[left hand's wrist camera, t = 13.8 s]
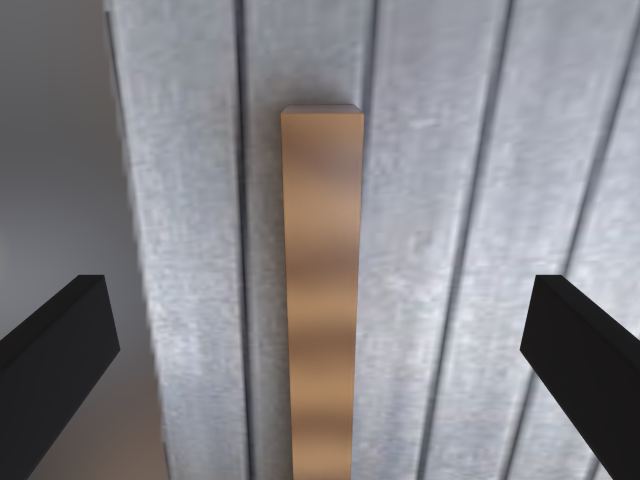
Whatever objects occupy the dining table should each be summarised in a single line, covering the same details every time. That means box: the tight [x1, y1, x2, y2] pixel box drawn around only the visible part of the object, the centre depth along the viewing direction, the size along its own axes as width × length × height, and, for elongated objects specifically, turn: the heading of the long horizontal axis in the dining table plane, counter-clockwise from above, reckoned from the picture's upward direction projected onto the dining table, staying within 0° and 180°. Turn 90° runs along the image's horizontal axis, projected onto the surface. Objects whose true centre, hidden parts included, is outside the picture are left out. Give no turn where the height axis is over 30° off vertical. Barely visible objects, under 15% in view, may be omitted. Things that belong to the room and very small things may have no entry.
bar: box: [280, 105, 364, 480], centre depth 42 cm, size 55×6×8 cm, turn 0°
